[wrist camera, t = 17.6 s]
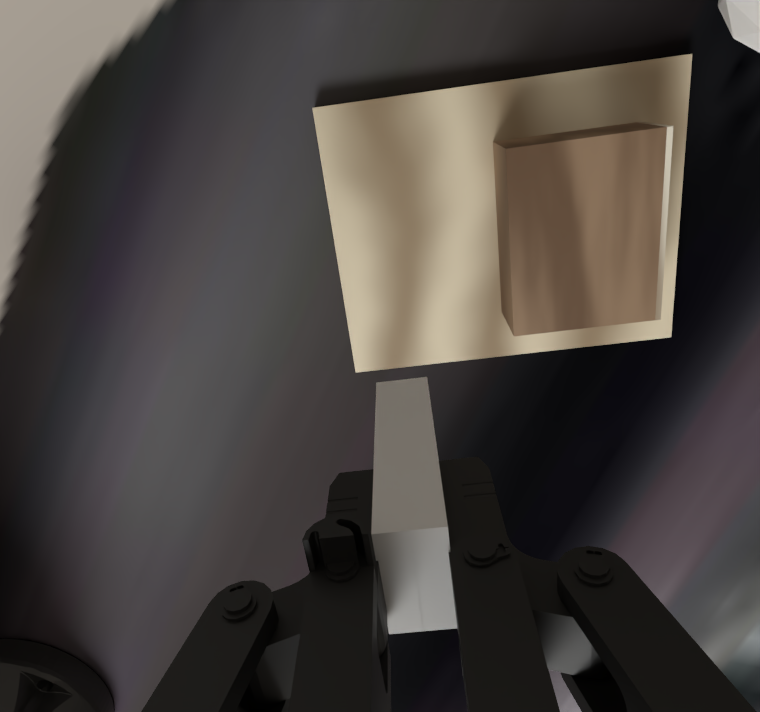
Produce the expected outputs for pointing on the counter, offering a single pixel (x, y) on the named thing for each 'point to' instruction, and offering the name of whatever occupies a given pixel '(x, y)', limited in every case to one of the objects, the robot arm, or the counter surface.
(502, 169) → the wooden block
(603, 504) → the counter surface
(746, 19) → the geometric ball
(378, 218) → the board
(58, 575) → the counter surface
